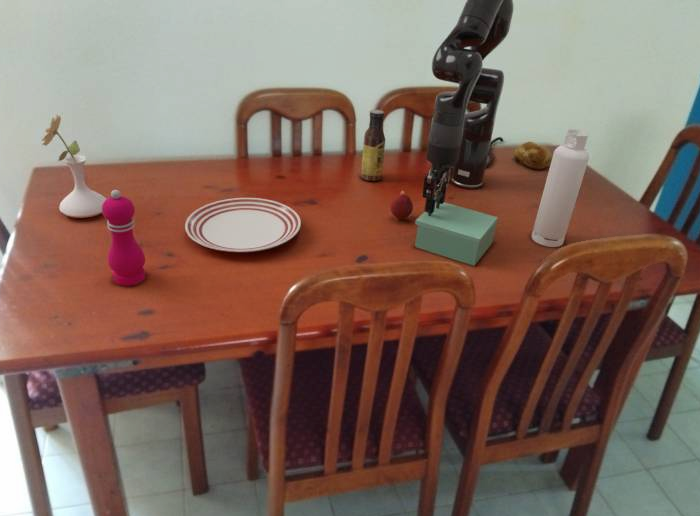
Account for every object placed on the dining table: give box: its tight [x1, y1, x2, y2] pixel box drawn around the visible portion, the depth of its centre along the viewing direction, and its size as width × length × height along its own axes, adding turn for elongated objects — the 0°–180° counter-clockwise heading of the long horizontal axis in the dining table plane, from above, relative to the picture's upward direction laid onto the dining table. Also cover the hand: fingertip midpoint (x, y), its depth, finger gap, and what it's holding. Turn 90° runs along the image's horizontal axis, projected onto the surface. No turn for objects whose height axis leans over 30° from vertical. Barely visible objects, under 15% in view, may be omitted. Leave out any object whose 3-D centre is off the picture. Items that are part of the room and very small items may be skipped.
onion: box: [389, 190, 414, 221], centre depth 156 cm, size 6×6×8 cm
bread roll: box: [513, 141, 552, 170], centre depth 197 cm, size 13×10×8 cm
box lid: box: [414, 190, 499, 243], centre depth 144 cm, size 16×14×6 cm
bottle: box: [530, 128, 590, 248], centre depth 147 cm, size 8×8×28 cm
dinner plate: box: [184, 197, 302, 253], centre depth 145 cm, size 27×27×3 cm
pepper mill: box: [101, 189, 146, 287], centre depth 121 cm, size 7×7×20 cm
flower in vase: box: [41, 114, 107, 219], centre depth 142 cm, size 13×11×25 cm
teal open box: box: [414, 221, 498, 267], centre depth 147 cm, size 15×14×6 cm
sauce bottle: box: [360, 109, 386, 182], centre depth 174 cm, size 6×6×20 cm
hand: (434, 207), depth 146 cm, fingers closed on box lid, 6 cm apart
